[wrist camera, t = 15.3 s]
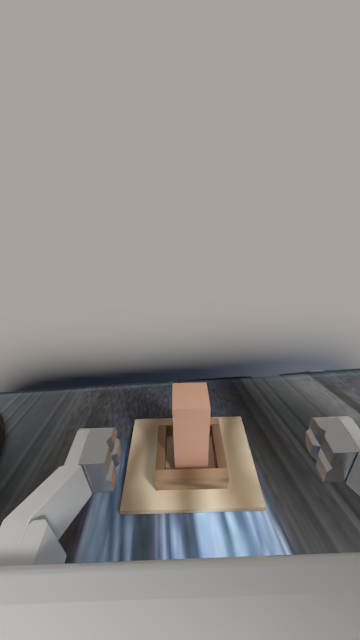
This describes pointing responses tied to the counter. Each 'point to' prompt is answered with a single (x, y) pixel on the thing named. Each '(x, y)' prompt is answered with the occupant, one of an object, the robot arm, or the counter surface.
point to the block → (191, 425)
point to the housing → (190, 472)
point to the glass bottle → (1, 434)
